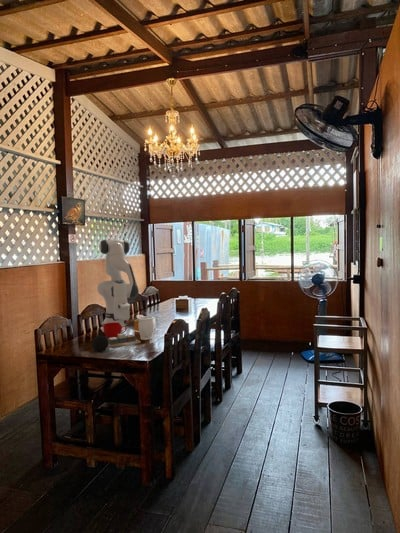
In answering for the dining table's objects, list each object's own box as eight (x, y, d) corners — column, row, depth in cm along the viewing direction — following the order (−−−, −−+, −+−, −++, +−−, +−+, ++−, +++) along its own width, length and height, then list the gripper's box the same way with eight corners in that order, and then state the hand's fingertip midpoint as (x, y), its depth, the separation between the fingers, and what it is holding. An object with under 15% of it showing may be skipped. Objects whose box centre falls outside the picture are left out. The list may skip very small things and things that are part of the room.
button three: (126, 339, 264) (126, 335, 264) (132, 338, 266) (131, 334, 266) (128, 340, 261) (128, 336, 261) (134, 340, 263) (134, 335, 263)
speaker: (111, 350, 243) (111, 335, 243) (98, 354, 236) (97, 338, 235) (102, 348, 250) (102, 333, 249) (89, 351, 243) (88, 336, 242)
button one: (109, 342, 258) (109, 337, 258) (115, 341, 260) (115, 336, 260) (111, 343, 255) (111, 338, 254) (117, 342, 257) (117, 337, 257)
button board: (103, 344, 260) (103, 338, 259) (134, 339, 271) (134, 333, 271) (108, 348, 250) (108, 341, 250) (140, 342, 262) (140, 336, 262)
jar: (139, 341, 267) (138, 319, 266) (137, 337, 277) (137, 316, 276) (155, 339, 270) (154, 318, 269) (152, 336, 280) (152, 315, 279)
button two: (117, 338, 261) (117, 333, 261) (123, 337, 263) (123, 332, 263) (120, 339, 258) (119, 334, 258) (125, 338, 260) (125, 334, 260)
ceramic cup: (123, 340, 269) (122, 326, 268) (100, 340, 272) (99, 326, 272) (130, 336, 282) (129, 322, 281) (108, 335, 285) (107, 322, 284)
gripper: (110, 303, 266) (111, 323, 267) (121, 306, 249) (122, 328, 249) (119, 302, 270) (120, 322, 270) (131, 305, 252) (132, 326, 253)
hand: (121, 325), depth 260 cm, fingers closed
